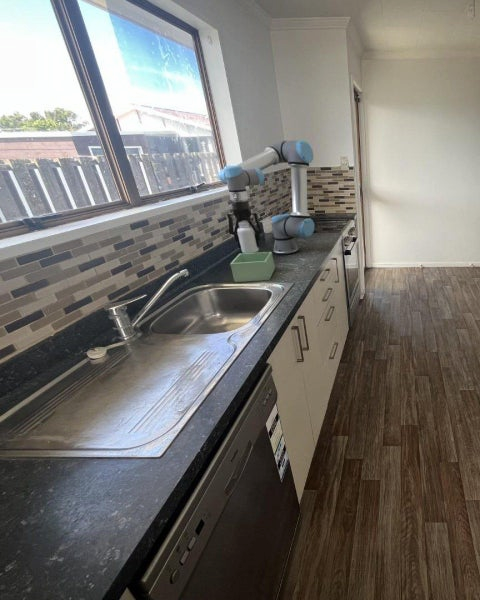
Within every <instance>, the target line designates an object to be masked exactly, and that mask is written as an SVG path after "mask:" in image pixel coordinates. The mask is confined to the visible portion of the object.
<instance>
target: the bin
mask: <svg viewBox="0 0 480 600" xmlns="http://www.w3.org/2000/svg"><path fill="white" fill-rule="evenodd" d="M229 266H230V268H231V273H232V277H233V281H234V283H245V282H259V281H260V282H261V281H270V280H271V277H272V276H273V274H274V272H275V270H276V267H275V262H274V255H273V251H262V252H254V253H238V255H237V256H236V257H235V258H234V259H233V260H232V261H231V262H230V264H229Z"/></svg>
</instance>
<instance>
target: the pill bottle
mask: <svg viewBox="0 0 480 600" xmlns="http://www.w3.org/2000/svg"><path fill="white" fill-rule="evenodd" d="M238 224H239V228H238V229H237V232H238V234H237V235H238V237H239V241H240V245H241V248H240V249H241V252H242V254H244V253H258V252H259V249H260V247H257V244H256V239H255V234H256V233H255V231H254V230H253V228H252V227H251V225H250V224H249V222H247V221H244V220H243V221H240V222H239V223H238Z"/></svg>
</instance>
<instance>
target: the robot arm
mask: <svg viewBox="0 0 480 600" xmlns="http://www.w3.org/2000/svg"><path fill="white" fill-rule="evenodd" d="M313 160H314V151H313V148H312V147H311V145H310V143H309V142H308V141H306V140H299V139H297V140H282V141H278V142H275V143H274V144H272V145H269V146H268V147H266V148H265V149H264V151H262V152H260V153H258V154H256V155H254V156H252V157H250V158H248V159H246V160H244V161H242V162H240V163H238V164H236V165H226V166H224V167H223V168H222V169H220V170H219V171H218V177H219V180H220V181H221V183H222V184H225V185H226V186H227V189H228V195H229V198H230V201H231V202H230V203H231V208H232V212H228V213H227V214H226V216H227V219H228V233H229V235H232V236H233V237H234V241H235V243H237V245H238V249H241V245H240V241H239V237H238V232H237V229H238V228H239V224H238V223H239V222H240V221H247V222H249V224H250V225H251V227H252V228H253V230H254V231H255V239H256V244H257V247H258V248H260V247H261V244H260V241H261V239H262V237H261V233H263V232H264V229H263V226H262V224H261V221H260V219H259V213H258V211H255V212H254V211H252V210H251V207H250V202H249V200H248V199H249V197H248V192H247V187H252V186H259V185H262V184H264V182H265V175H264V173H263V170H265V169H267V168H269V167H271V166H276V165H278V164H284V163H286V164H287V165H288V167H289V168H290V175H291V176H290V179H291V203H292V204H291V210H292V211H291V212H290V213H283V214H278V215H274V216H271V218H270V222H271V228H272V229H271V230H272V233H273V234H272V235H273V239H274V244H273V254H274V255H277V256H286V255H287V256H288V255H293V254H296V253H298V252H299V250H300V248H299V246H298V244H297V242H296V240H295V238H300V239H308V238H310V237H311V236H312V235H313V234H314V231H315V222H314V220H313V219H312V218H311V215H310V214H309V212H308V177H307V175H308V173H307V171H308V169H309V168H310V164H311V163H312V162H313ZM251 216H252V217H253V218H254V221H253V219H252V217H251ZM234 217H235V218H236V219H235V226H234ZM254 222H255V223H254Z"/></svg>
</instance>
